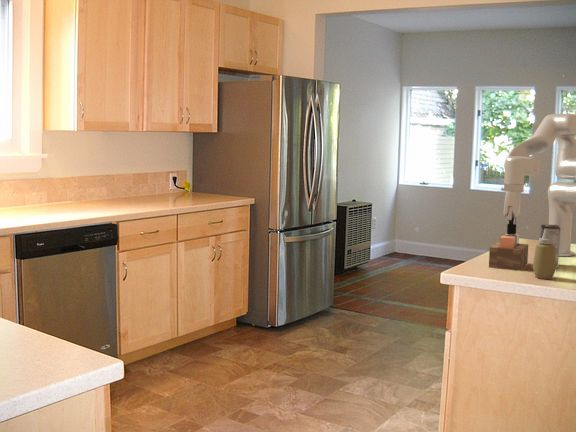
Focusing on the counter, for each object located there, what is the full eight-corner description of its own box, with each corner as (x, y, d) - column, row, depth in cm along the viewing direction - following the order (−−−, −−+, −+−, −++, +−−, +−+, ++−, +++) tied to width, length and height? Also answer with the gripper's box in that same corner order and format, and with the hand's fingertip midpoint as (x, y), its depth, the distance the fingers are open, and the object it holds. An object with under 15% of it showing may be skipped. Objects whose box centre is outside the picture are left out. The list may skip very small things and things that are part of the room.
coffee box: (538, 263, 293) (540, 224, 291) (555, 263, 292) (557, 224, 290) (541, 267, 284) (543, 226, 283) (558, 268, 283) (561, 227, 281)
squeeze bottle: (529, 275, 267) (531, 227, 265) (551, 275, 267) (553, 227, 265) (535, 279, 259) (538, 230, 257) (558, 280, 259) (561, 230, 257)
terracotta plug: (501, 250, 286) (502, 235, 285) (514, 251, 284) (515, 236, 283) (499, 252, 282) (500, 237, 281) (512, 253, 279) (513, 238, 279)
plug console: (497, 261, 297) (497, 241, 296) (527, 263, 291) (528, 244, 290) (488, 267, 283) (489, 247, 282) (520, 270, 277) (521, 249, 276)
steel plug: (505, 247, 293) (506, 233, 292) (518, 249, 291) (519, 234, 290) (503, 249, 289) (504, 234, 288) (516, 250, 286) (516, 235, 286)
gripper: (507, 186, 295) (505, 231, 297) (500, 189, 282) (498, 235, 284) (526, 187, 292) (524, 232, 294) (520, 189, 279) (517, 237, 281)
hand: (511, 234), depth 289 cm, fingers closed
